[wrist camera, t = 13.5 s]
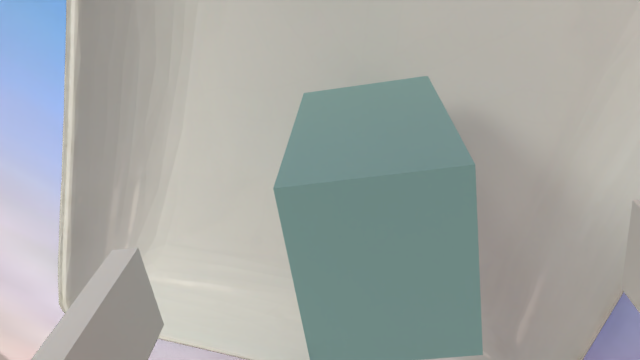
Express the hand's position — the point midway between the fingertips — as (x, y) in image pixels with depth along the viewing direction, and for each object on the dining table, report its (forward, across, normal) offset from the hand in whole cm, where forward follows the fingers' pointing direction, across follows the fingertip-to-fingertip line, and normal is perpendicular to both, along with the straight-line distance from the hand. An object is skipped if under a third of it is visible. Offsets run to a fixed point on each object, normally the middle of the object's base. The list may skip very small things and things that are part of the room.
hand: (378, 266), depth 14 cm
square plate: (+13, 0, 0) cm, 13 cm away
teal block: (+9, 0, 0) cm, 9 cm away
